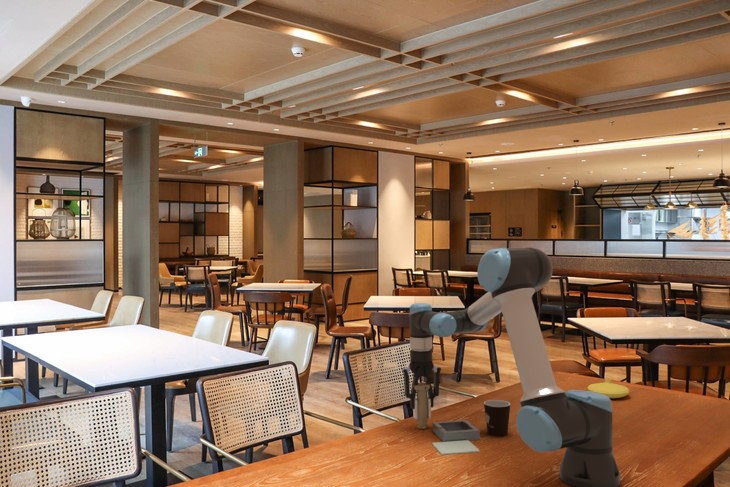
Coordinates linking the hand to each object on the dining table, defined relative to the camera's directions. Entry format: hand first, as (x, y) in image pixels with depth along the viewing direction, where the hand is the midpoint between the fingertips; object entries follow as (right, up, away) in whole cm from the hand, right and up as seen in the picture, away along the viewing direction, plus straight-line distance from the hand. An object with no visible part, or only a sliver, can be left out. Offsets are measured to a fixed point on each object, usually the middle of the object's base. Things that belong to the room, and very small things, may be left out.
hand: (422, 417), depth 211 cm
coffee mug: (+25, -4, -6) cm, 25 cm away
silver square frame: (+10, -4, -8) cm, 14 cm away
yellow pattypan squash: (+78, -2, +38) cm, 87 cm away
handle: (0, -4, 0) cm, 4 cm away
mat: (+8, -4, -20) cm, 22 cm away
